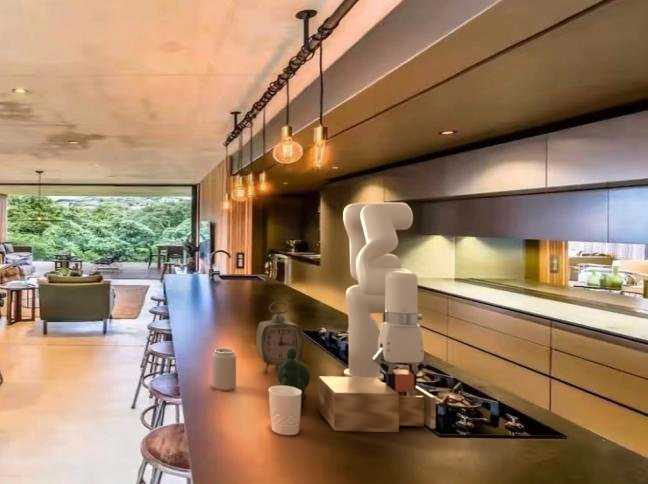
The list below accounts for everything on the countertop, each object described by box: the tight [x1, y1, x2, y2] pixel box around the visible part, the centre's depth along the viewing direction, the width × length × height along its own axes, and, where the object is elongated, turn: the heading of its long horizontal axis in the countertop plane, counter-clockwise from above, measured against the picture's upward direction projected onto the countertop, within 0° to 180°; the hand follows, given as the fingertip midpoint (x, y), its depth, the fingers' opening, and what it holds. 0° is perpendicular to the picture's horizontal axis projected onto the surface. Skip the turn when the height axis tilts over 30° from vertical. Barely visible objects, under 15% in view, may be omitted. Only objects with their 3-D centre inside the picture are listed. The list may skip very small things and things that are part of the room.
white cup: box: [268, 384, 302, 436], centre depth 120 cm, size 8×8×10 cm
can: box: [211, 348, 237, 392], centre depth 153 cm, size 8×8×12 cm
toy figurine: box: [277, 347, 311, 410], centre depth 140 cm, size 9×19×25 cm
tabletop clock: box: [255, 301, 304, 375], centre depth 171 cm, size 14×9×25 cm, turn 91°
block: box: [393, 368, 414, 393], centre depth 125 cm, size 4×4×4 cm
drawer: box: [383, 382, 447, 429], centre depth 125 cm, size 19×12×8 cm, turn 87°
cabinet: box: [318, 375, 400, 433], centre depth 126 cm, size 16×14×10 cm
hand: (401, 387), depth 125 cm, fingers closed on block, 4 cm apart
